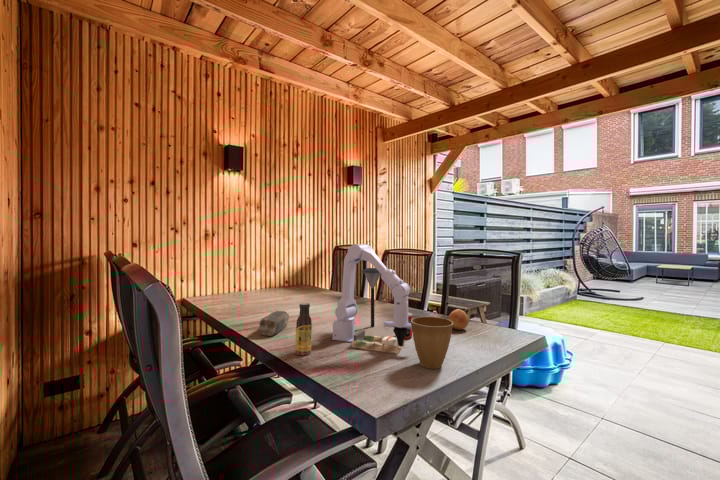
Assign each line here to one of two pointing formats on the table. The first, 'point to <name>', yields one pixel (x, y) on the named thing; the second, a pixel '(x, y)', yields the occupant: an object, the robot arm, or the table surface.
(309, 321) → the sauce bottle
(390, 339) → the cream gift box
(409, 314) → the canned food
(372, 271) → the solar garden light
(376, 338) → the track
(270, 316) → the stone block
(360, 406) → the table surface
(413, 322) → the plant pot
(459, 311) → the onion
